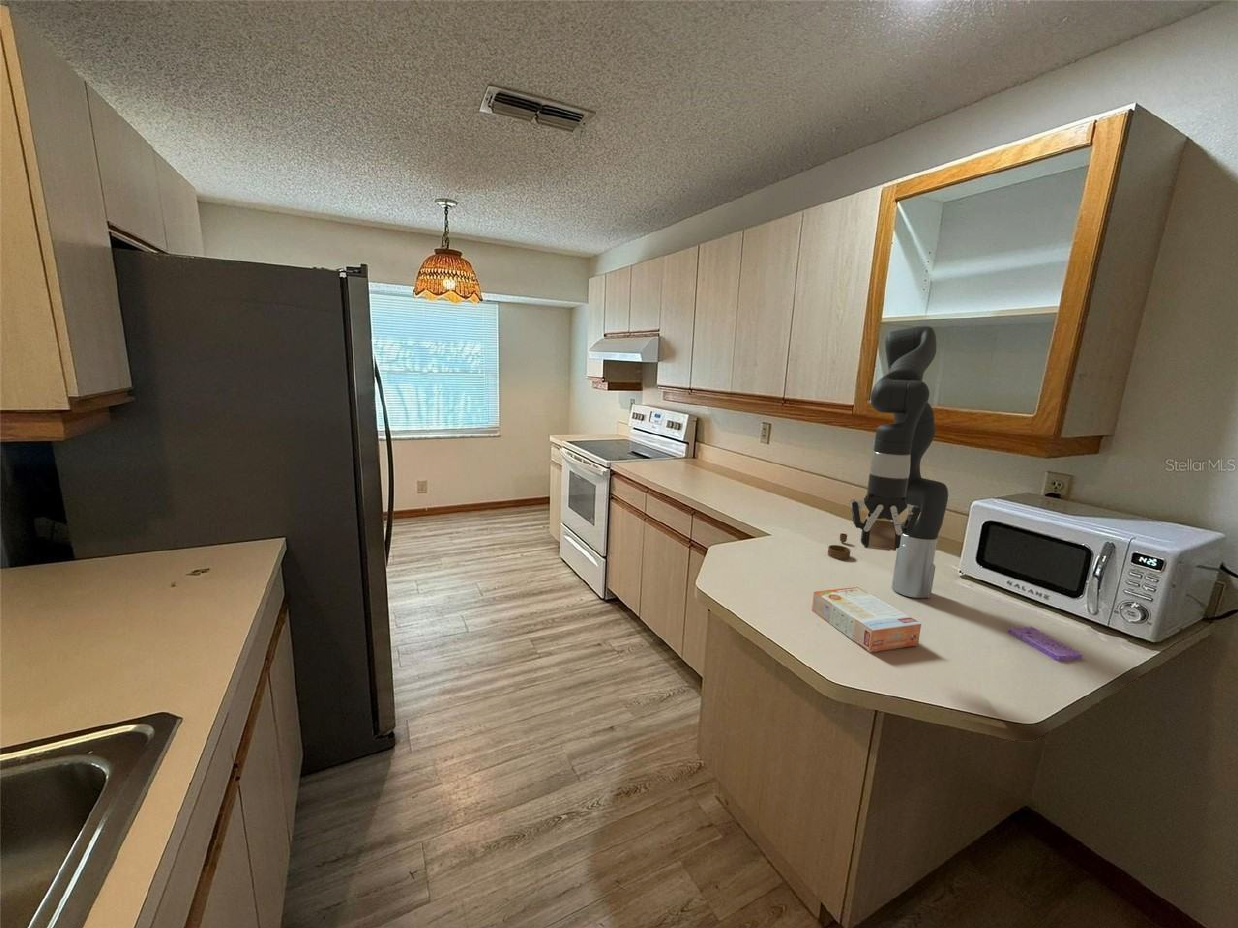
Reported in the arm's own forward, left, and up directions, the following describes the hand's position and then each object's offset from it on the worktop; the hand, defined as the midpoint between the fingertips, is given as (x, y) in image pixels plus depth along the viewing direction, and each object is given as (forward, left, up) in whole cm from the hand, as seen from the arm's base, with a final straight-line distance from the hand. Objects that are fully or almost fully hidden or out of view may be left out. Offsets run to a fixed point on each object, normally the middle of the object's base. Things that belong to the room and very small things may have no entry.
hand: (879, 547), depth 111 cm
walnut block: (0, 0, 0) cm, 0 cm away
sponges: (-42, -16, -25) cm, 51 cm away
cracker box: (+5, -18, -21) cm, 28 cm away
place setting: (-4, -61, -25) cm, 66 cm away
